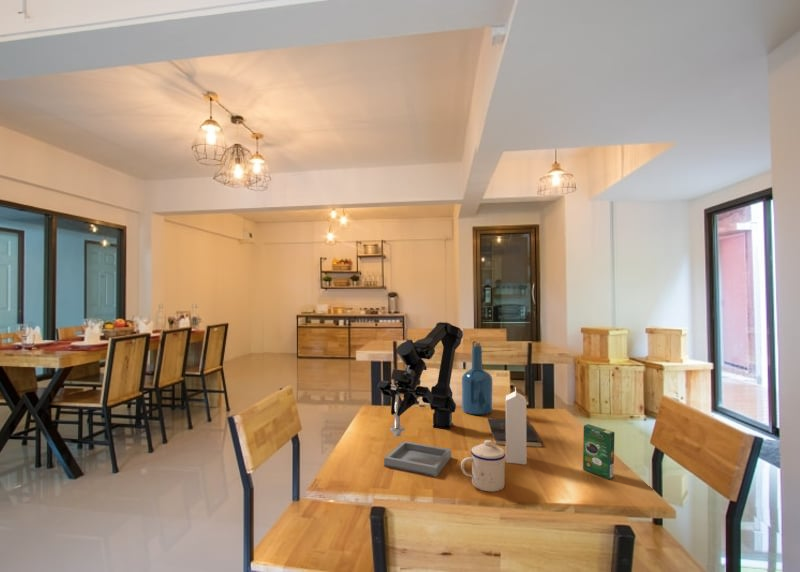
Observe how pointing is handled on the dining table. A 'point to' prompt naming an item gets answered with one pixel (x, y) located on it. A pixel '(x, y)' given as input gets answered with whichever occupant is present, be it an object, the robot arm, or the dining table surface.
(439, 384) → the robot arm
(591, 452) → the coffee box
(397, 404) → the screw
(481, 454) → the teacup with lid
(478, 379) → the wine bottle
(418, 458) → the tray
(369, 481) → the dining table surface
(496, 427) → the hardcover book
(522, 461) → the milk
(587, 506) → the dining table surface
